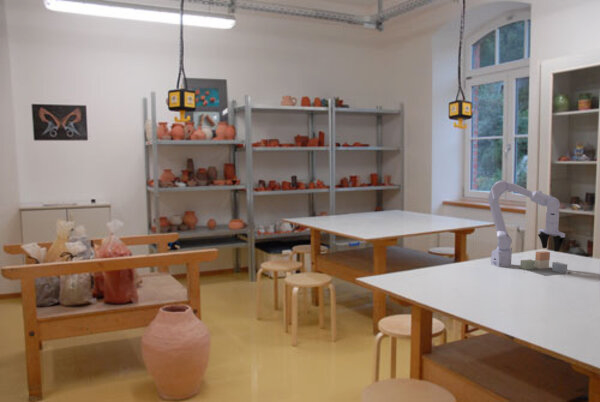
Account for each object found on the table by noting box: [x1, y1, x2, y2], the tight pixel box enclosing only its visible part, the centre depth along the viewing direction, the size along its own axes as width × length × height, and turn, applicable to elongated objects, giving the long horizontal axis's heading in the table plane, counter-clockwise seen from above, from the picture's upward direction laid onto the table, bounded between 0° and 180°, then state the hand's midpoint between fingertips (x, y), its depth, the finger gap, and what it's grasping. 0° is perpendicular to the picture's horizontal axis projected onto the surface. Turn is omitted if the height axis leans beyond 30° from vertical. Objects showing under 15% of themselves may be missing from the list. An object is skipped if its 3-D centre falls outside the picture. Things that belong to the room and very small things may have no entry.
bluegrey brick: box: [551, 261, 568, 273], centre depth 240 cm, size 6×3×4 cm, turn 18°
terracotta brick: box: [534, 250, 551, 261], centre depth 248 cm, size 6×3×4 cm, turn 108°
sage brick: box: [519, 259, 535, 270], centre depth 247 cm, size 6×3×4 cm, turn 108°
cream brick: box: [534, 260, 550, 269], centre depth 248 cm, size 6×3×4 cm, turn 108°
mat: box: [519, 267, 571, 277], centre depth 242 cm, size 15×17×1 cm
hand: (550, 249), depth 244 cm, fingers open, 7 cm apart
